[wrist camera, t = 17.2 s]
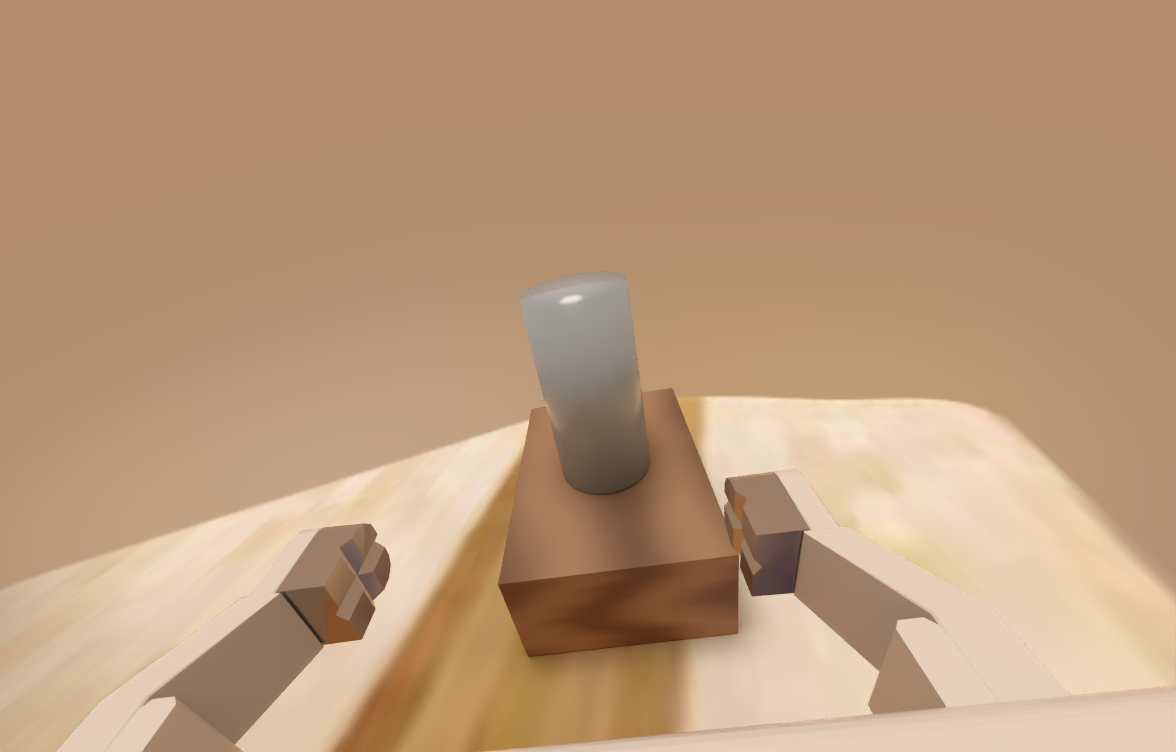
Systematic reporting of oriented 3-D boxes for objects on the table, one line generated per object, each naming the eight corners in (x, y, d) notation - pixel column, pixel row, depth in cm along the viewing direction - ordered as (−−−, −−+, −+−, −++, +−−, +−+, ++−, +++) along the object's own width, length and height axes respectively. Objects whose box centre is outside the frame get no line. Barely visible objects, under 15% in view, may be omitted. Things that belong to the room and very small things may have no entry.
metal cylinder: (561, 500, 23) (511, 314, 18) (563, 443, 28) (524, 283, 23) (658, 485, 23) (634, 292, 18) (642, 429, 28) (620, 265, 23)
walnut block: (527, 656, 22) (498, 584, 19) (547, 467, 35) (531, 409, 32) (737, 633, 21) (738, 554, 18) (677, 449, 34) (672, 388, 32)
